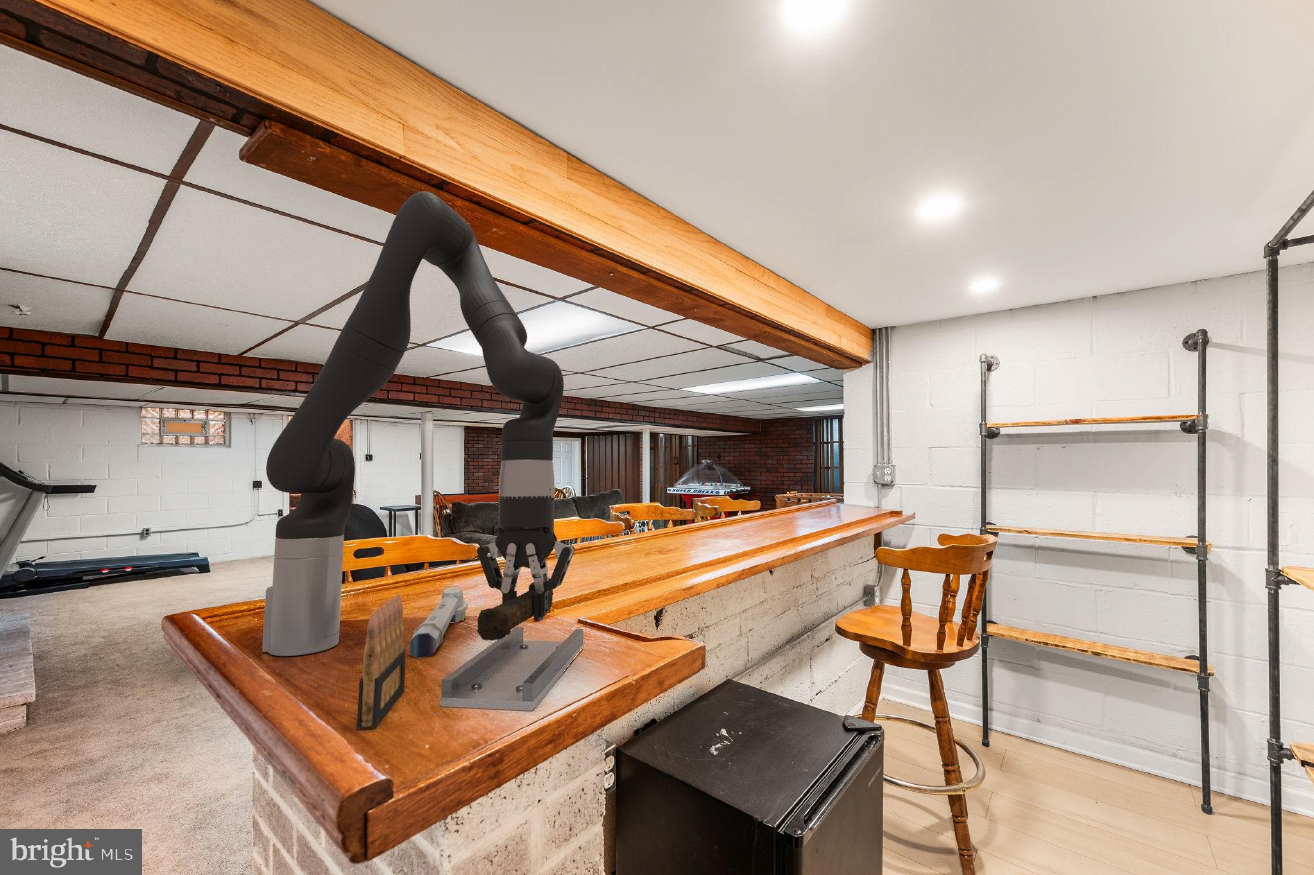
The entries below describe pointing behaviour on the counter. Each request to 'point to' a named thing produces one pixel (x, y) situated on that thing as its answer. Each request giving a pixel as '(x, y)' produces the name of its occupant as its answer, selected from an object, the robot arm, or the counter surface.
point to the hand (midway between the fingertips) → (525, 619)
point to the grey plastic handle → (438, 623)
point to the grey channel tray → (510, 673)
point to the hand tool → (508, 615)
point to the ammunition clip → (382, 665)
